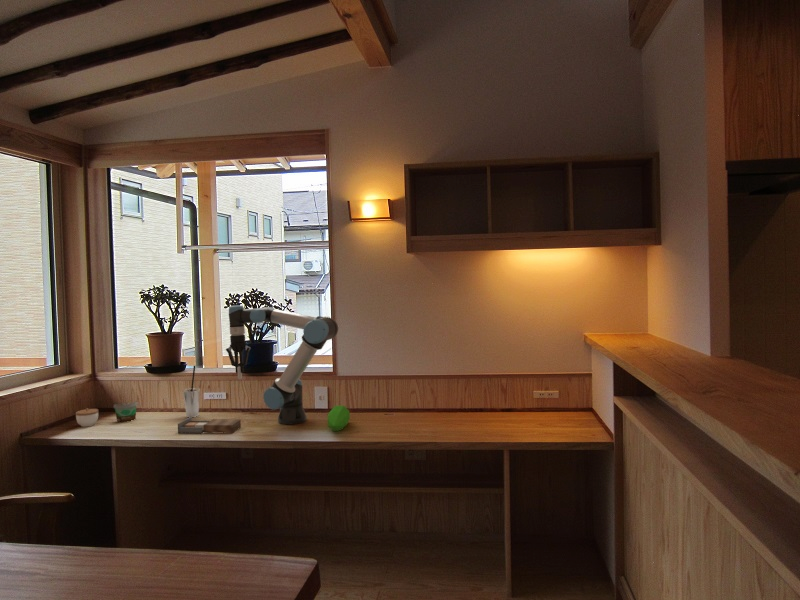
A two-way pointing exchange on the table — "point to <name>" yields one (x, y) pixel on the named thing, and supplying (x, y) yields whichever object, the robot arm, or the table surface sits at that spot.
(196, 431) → the tray
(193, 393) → the utensil holder
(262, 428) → the table surface
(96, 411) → the lidded jar
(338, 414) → the green oblong piece
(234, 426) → the walnut board
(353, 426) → the table surface
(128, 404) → the food container
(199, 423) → the cream tile
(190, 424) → the terracotta tile
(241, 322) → the robot arm
